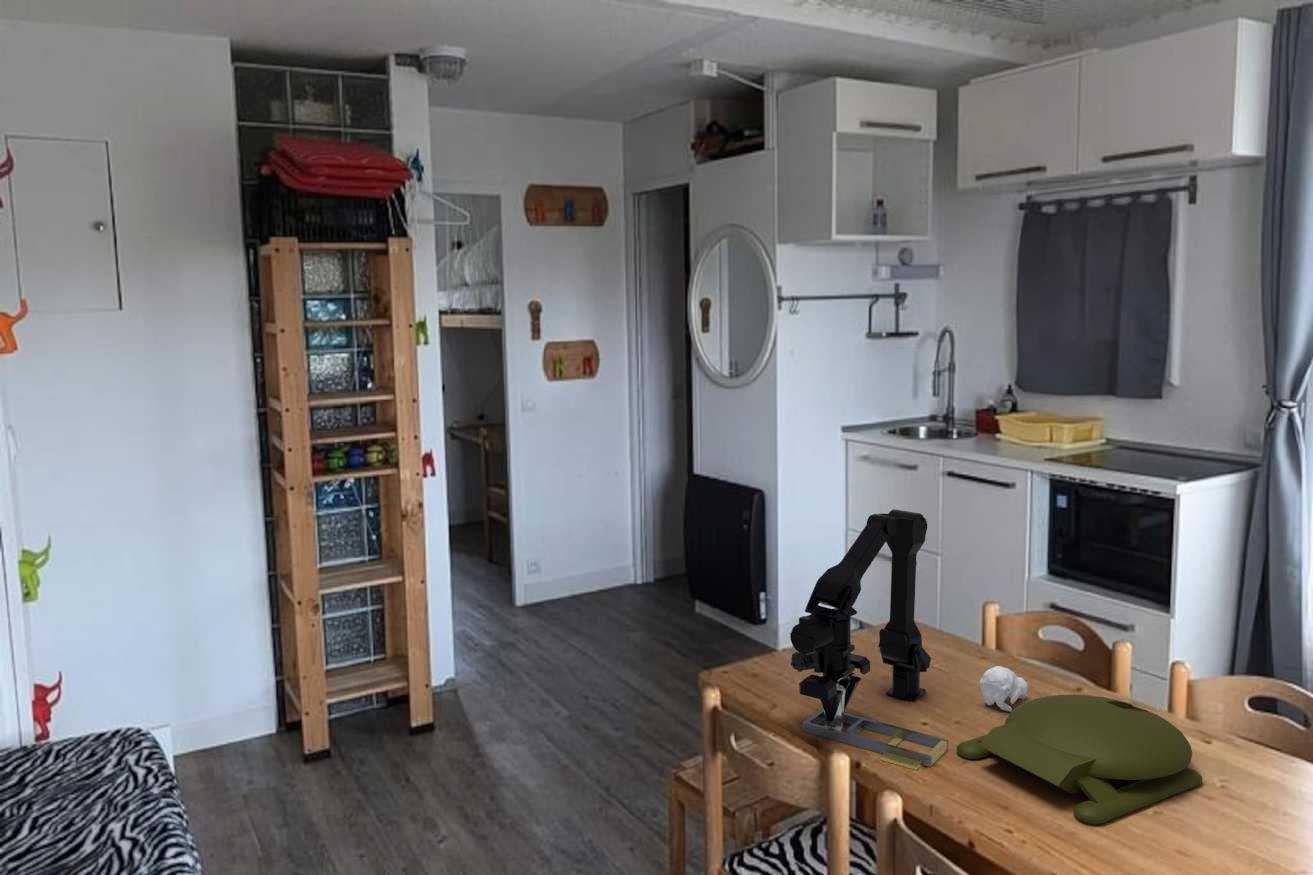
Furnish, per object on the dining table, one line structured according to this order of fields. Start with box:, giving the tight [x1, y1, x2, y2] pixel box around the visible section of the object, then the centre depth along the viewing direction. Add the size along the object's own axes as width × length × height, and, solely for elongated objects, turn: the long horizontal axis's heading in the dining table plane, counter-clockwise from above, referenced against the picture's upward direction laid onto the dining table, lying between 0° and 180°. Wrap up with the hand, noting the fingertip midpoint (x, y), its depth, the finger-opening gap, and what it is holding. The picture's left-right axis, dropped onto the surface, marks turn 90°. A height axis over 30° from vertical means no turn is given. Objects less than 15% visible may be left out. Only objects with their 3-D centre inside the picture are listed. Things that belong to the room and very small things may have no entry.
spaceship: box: [956, 693, 1203, 826], centre depth 173 cm, size 35×31×10 cm
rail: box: [802, 707, 949, 771], centre depth 184 cm, size 13×26×2 cm, turn 52°
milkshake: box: [824, 682, 850, 731], centre depth 189 cm, size 4×5×10 cm
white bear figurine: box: [979, 665, 1028, 713], centre depth 199 cm, size 6×8×12 cm
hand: (835, 717), depth 189 cm, fingers closed on milkshake, 4 cm apart
